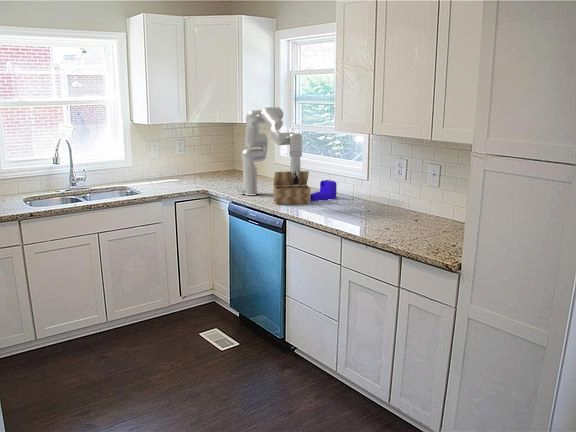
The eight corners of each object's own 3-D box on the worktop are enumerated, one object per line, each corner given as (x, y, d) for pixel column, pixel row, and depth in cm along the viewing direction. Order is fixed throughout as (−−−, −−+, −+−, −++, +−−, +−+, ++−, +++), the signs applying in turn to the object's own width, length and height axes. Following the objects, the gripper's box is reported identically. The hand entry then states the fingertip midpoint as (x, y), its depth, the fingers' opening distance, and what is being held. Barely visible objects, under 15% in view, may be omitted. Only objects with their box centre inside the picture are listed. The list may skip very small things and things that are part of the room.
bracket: (324, 196, 360) (324, 179, 357) (336, 198, 352) (336, 181, 349) (305, 200, 348) (305, 182, 345) (316, 202, 340) (317, 184, 337)
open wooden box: (275, 204, 333) (275, 189, 330) (273, 200, 344) (273, 185, 342) (310, 203, 336) (310, 188, 334) (306, 200, 347) (306, 185, 345)
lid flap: (274, 172, 333) (274, 171, 333) (273, 185, 342) (273, 185, 342) (308, 171, 336) (308, 170, 337) (306, 184, 345) (306, 184, 345)
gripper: (287, 152, 325) (287, 182, 329) (291, 155, 310) (291, 186, 314) (299, 152, 326) (299, 182, 330) (304, 155, 311) (304, 185, 315)
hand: (295, 184), depth 322 cm, fingers closed
